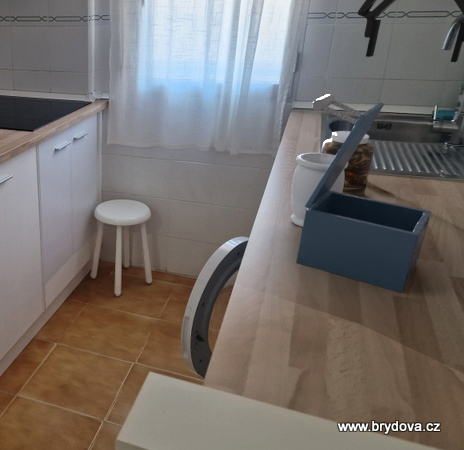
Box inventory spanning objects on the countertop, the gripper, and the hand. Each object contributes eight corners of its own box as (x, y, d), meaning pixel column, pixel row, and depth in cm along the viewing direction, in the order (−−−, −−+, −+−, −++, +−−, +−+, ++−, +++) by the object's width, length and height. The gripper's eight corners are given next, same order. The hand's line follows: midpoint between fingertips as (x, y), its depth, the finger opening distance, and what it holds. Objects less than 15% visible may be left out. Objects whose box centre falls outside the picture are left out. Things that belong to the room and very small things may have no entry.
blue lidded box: (416, 264, 104) (431, 211, 99) (401, 292, 94) (418, 235, 90) (318, 239, 114) (328, 190, 110) (296, 262, 105) (306, 209, 100)
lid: (384, 104, 99) (336, 82, 103) (365, 116, 89) (313, 92, 93) (330, 189, 110) (289, 166, 114) (308, 208, 100) (263, 183, 104)
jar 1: (331, 235, 116) (345, 168, 110) (281, 225, 121) (292, 161, 115) (337, 219, 124) (351, 156, 118) (290, 210, 129) (301, 149, 123)
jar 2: (330, 180, 150) (341, 127, 144) (372, 192, 141) (386, 136, 135) (305, 188, 143) (315, 133, 138) (347, 201, 135) (360, 142, 129)
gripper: (355, -69, 96) (332, 55, 104) (535, -80, 81) (491, 65, 90) (366, -66, 101) (343, 52, 110) (536, -76, 87) (495, 61, 95)
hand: (409, 58), depth 100 cm, fingers open, 13 cm apart
